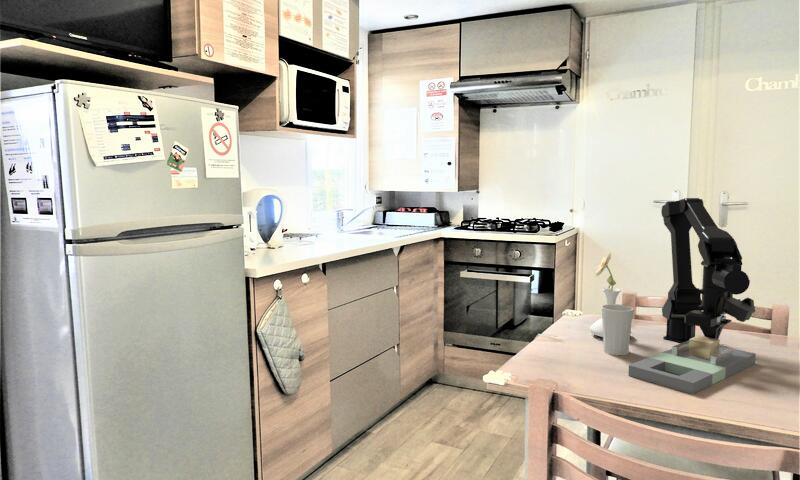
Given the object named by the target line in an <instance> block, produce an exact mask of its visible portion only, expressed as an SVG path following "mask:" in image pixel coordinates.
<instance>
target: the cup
mask: <svg viewBox="0 0 800 480" xmlns="http://www.w3.org/2000/svg"><path fill="white" fill-rule="evenodd" d="M600 307H601V318H602V325H603V337H602V339H603V340H602V343H603V344H602V345H603V347H602V349H603V353H605V354H607V353H608V354H607V355H610V354H611V355H610V356H618V355H622V356H626V355H629V354H630V353H629V351H630V349H629V348H630V338H631V334H630V332H631V333H632V323H633V316H634V309H635V308H634V307H632V306H630V305H627V304H625V305H624V304H618V303H617V304H616V303H615V304H607V303H606V304H603V305H601V306H600Z"/></svg>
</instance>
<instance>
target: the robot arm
mask: <svg viewBox="0 0 800 480" xmlns="http://www.w3.org/2000/svg"><path fill="white" fill-rule="evenodd" d="M660 212H661V217H662V219H663V225H664V226H665V227H666V229H667V230H668V231H669V233H670V242H671V243H670V245H671V258H672V259H671V261H672V262H671V264H672V276H673V278H672V280H673V284H672V286H671V287H670V289H669V290H668V292H667V299H666V301H665V303H664V304H663V306H662V307H661V315H662V316H663V318H665V319H666V331H665V332H666V335H665V336H664V335H663V337H662V338H663V339H665V340H668V341H669V340H670V341H673V342H677V343H683V342H686V341H688V340H689V339H691V338H693V337H696V326H697V327H699V328H700V330H701V332H702V334H703V336H705V337H709V338H714V339H719V338H720V336H721V334H722V331H723V329H724V327H725V326H727V325H728V324H729V323H732V319H728V318H727V316H725V315H729V316H730V317H732V318H734V319H735V320H737V321H738V322H741V323H744V322H746V321H750V319H751V317H752V314H755V312H756V306H755V300H754V299H752V298H750V297H745V298H744V299H742V300H741V298H738V299H737V298H735V297H734V296H733V295H736V296H737V295H741V294H743V293H745V292H746V291H747V290H748V289H749V287H750V283H751V282H750V281H751V280H750V277H749V276H748V274H747V273H746V272H745V271H744V270H742V265H743V261H742V260H743V257H742V254H741V252H740V249H739V247H738V244H737V242H736V240H735V238H734V237H733V236H732V235H731V234H730V233H729V231H726V230H724V229H721V228H719V227H718V225H717V224H716V223H715V221H714V220H713V217H712V216H711V215H710V213H709V211H708V210H707V208H706V207H705V205H704V200H703V199H702V198H699V197H684V198H681V199H679V200H675V201H673V200H671V201H666V202H665V204H663V205H662V206H661V211H660ZM691 229H693V230H694V232H695V233H696V235H697V237H698V239H699V241H698V244H697V249H698V253H699V254H700V256H701V258H702V261H701V262H700V265H701V266H703V270H702V288H697V287H696V285H695V284H694V283H693V271H692V258H691V257H692V255H691V254H692V253H691V241H690V240H691V239H690V231H691ZM719 340H720V339H719Z"/></svg>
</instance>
